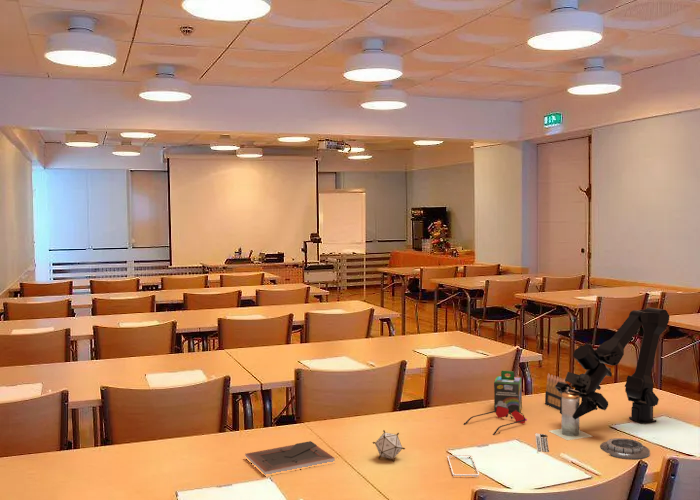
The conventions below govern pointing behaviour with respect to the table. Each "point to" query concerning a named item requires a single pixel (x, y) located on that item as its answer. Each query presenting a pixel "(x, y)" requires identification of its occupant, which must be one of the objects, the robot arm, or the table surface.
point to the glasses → (504, 413)
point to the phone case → (462, 474)
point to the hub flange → (625, 448)
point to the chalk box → (508, 392)
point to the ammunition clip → (553, 392)
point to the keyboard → (541, 442)
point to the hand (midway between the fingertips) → (567, 416)
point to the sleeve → (570, 413)
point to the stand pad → (581, 435)
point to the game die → (388, 445)
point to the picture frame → (289, 457)
